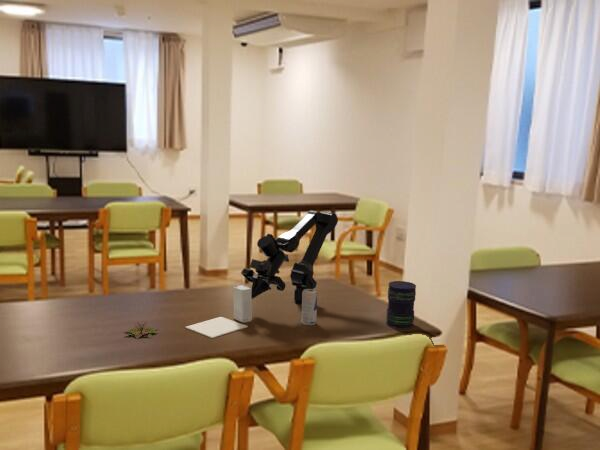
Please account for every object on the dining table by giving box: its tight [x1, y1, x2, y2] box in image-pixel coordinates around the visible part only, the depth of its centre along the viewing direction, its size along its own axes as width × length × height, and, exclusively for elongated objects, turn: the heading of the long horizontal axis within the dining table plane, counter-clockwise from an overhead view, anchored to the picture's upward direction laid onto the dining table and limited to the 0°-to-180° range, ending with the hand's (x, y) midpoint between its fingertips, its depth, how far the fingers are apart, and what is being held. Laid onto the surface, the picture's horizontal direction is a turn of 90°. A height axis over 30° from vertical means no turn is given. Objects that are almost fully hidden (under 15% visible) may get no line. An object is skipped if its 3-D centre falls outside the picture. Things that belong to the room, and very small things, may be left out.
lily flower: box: [124, 320, 159, 340], centre depth 200 cm, size 12×12×5 cm
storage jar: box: [385, 280, 417, 330], centre depth 216 cm, size 10×10×15 cm
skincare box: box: [232, 284, 253, 324], centre depth 216 cm, size 6×4×12 cm
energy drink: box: [300, 288, 318, 326], centre depth 215 cm, size 5×5×12 cm
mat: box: [185, 316, 248, 339], centre depth 208 cm, size 16×14×1 cm
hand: (251, 298), depth 219 cm, fingers closed
